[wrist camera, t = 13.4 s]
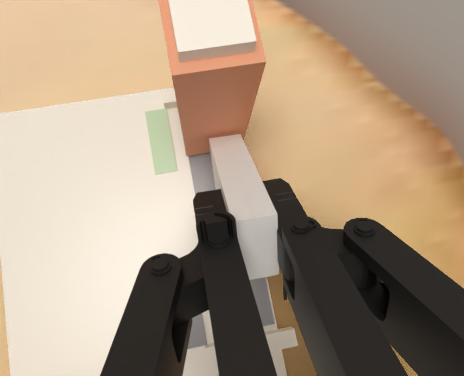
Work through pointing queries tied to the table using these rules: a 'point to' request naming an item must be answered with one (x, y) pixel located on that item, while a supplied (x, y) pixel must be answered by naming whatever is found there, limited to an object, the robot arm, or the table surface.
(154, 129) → the white fixture board
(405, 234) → the table surface
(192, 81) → the orange rectangular block
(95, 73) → the table surface
